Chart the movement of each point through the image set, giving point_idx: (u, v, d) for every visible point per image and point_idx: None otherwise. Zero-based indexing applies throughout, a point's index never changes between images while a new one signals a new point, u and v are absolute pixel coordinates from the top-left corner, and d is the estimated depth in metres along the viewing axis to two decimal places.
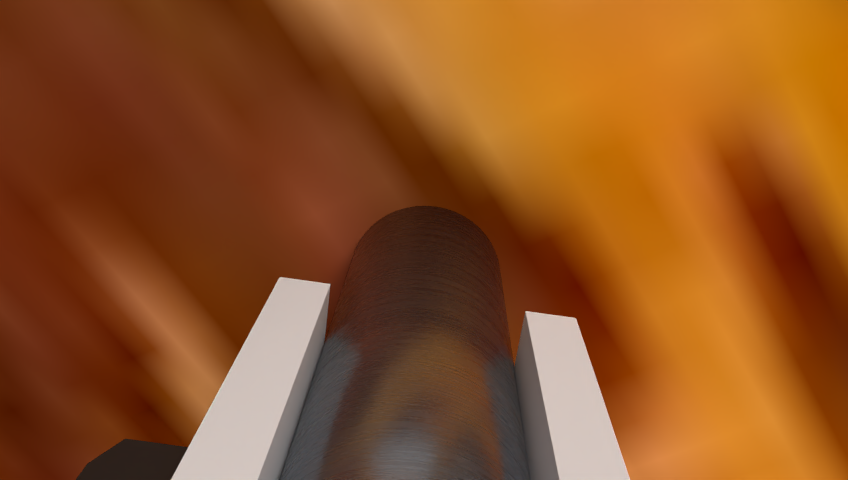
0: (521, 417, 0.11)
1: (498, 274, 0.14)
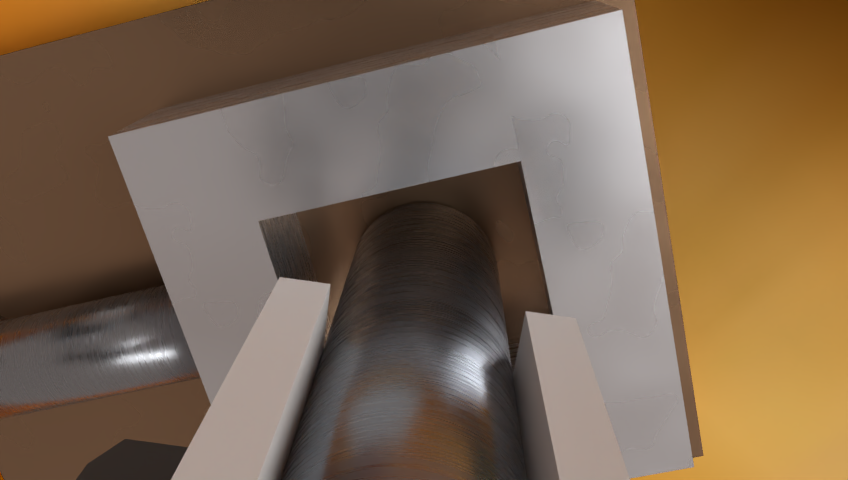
0: (516, 403, 0.11)
1: (495, 269, 0.15)
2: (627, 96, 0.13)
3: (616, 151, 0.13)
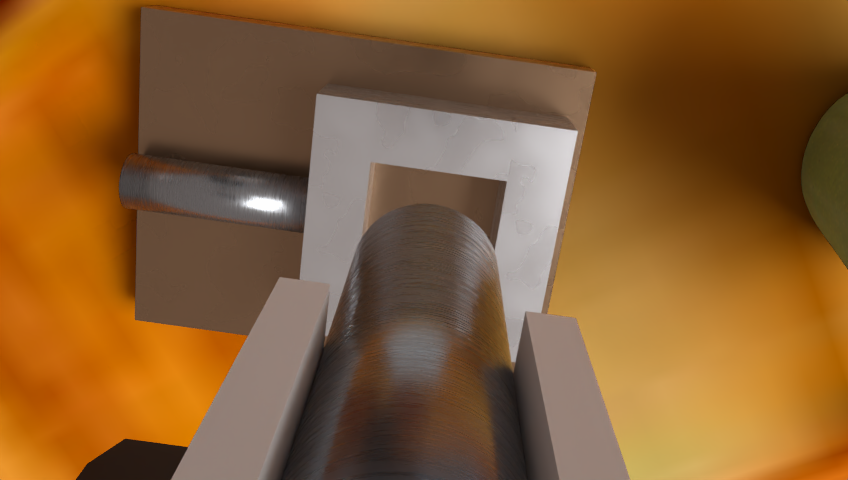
0: None
1: (499, 280, 0.15)
2: (566, 170, 0.26)
3: (551, 193, 0.27)
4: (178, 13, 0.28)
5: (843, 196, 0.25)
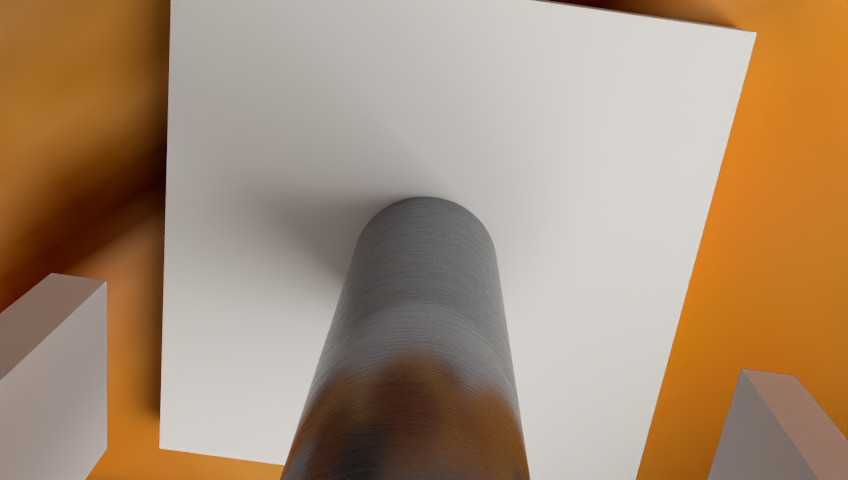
0: None
1: (498, 270, 0.15)
2: None
3: None
4: None
5: None
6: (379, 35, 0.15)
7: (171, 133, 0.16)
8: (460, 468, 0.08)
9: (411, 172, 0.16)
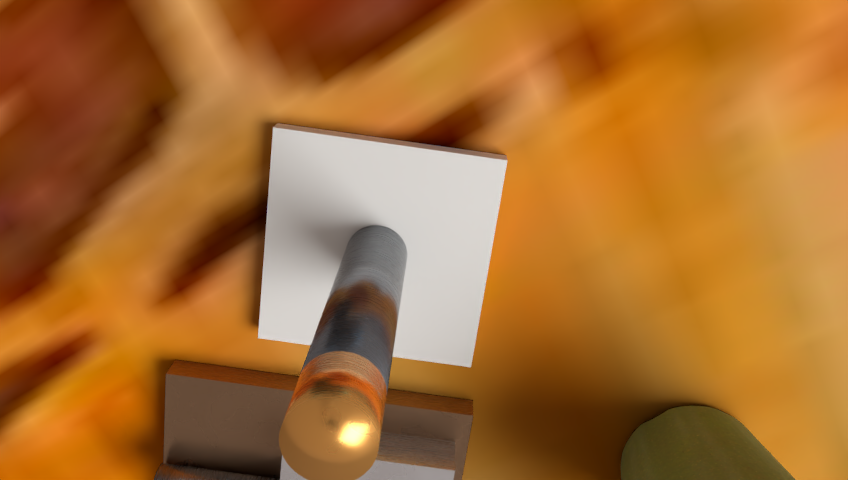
0: (400, 299, 0.34)
1: (404, 256, 0.37)
2: None
3: None
4: (191, 377, 0.41)
5: None
6: (355, 160, 0.37)
7: (269, 199, 0.38)
8: (371, 303, 0.30)
9: (370, 215, 0.38)
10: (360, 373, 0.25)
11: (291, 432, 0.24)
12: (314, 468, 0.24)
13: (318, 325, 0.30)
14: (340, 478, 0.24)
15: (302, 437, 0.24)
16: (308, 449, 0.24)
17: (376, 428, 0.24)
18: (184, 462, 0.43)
